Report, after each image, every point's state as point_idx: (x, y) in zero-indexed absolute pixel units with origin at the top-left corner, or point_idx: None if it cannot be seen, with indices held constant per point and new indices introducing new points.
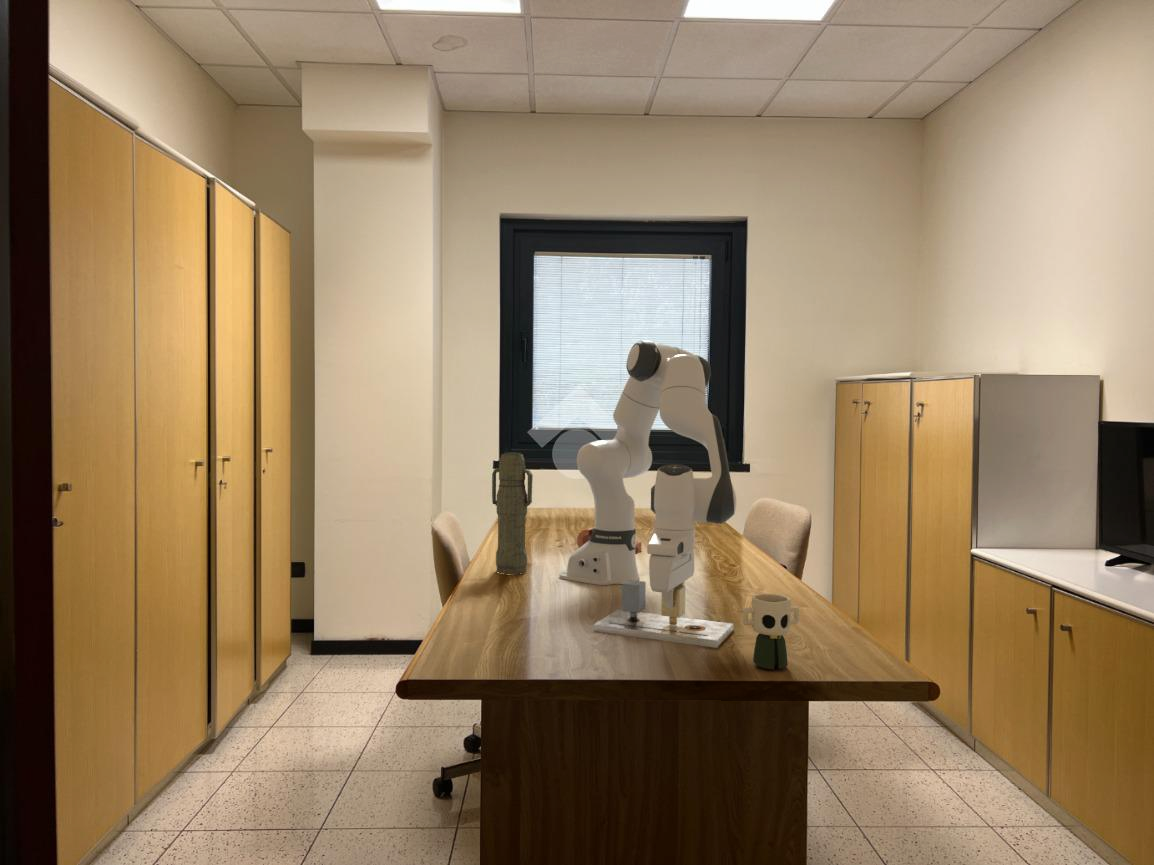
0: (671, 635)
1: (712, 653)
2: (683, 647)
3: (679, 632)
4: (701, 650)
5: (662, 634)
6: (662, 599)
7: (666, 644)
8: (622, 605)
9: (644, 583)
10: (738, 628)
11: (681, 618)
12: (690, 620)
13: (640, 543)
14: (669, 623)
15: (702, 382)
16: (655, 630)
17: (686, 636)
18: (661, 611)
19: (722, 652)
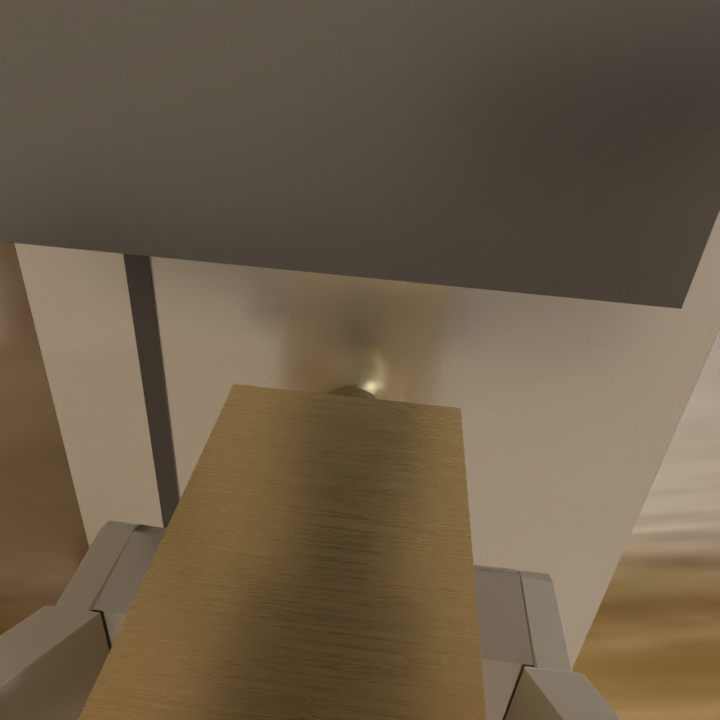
0: (65, 436)
1: (31, 613)
2: (26, 485)
3: (155, 481)
4: (42, 569)
5: (50, 369)
6: (162, 549)
7: (11, 383)
8: None
9: (519, 276)
10: (605, 692)
11: (627, 439)
12: (568, 509)
13: None
14: (329, 393)
15: None
16: (90, 302)
17: (85, 532)
18: (220, 415)
19: None
